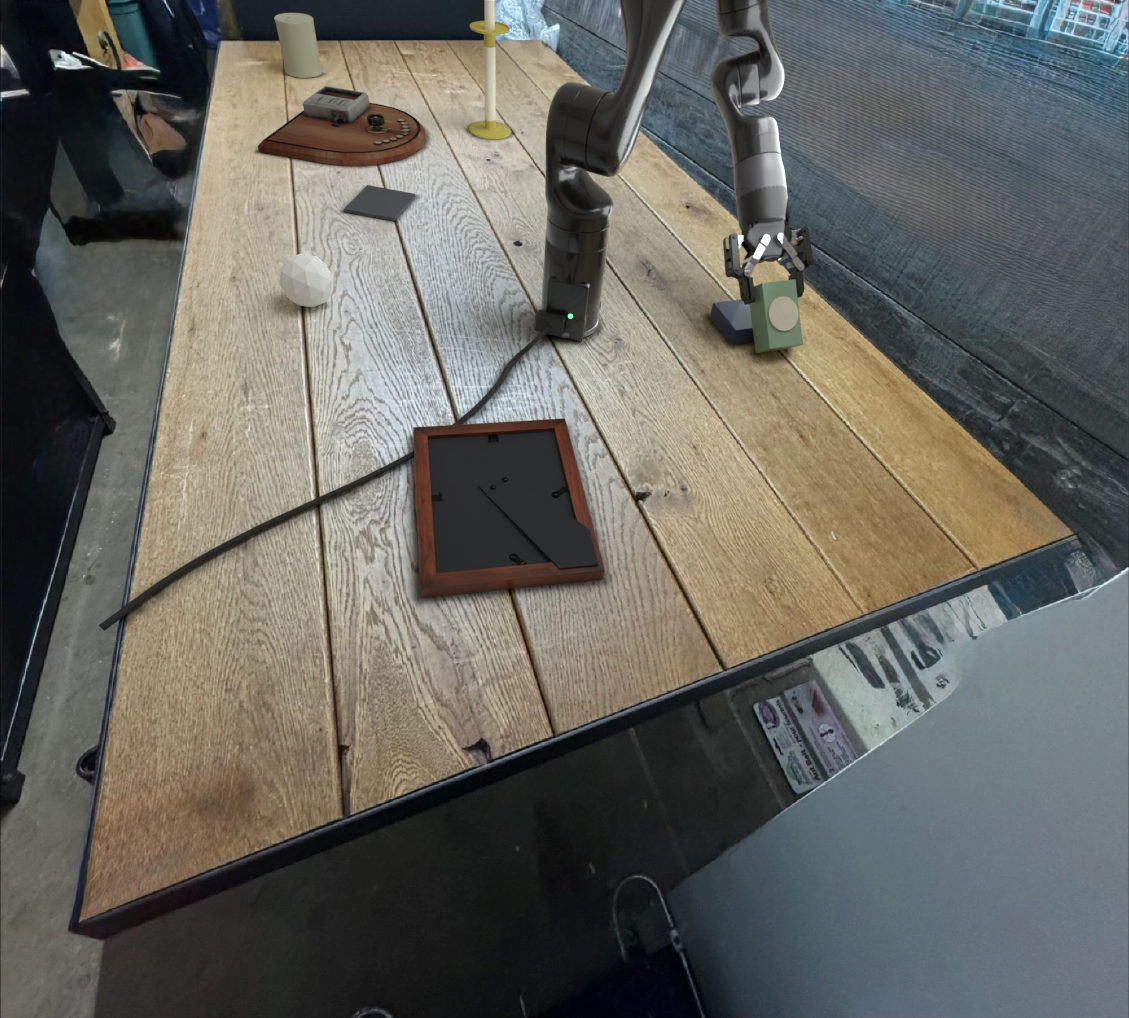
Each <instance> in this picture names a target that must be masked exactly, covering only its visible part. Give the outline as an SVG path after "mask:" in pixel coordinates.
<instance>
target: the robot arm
mask: <svg viewBox="0 0 1129 1018" xmlns="http://www.w3.org/2000/svg"><path fill="white" fill-rule="evenodd" d="M687 1H688V0H618V3H619V8H620V14H621V20H622V26H623V31H624V32H623V33H624V38H625V52H626V53H625V54H626V56H625V65H624V69H623V74H622V77H621V80H620V83H619V85H618V87H617V89H616V90H615V92H613V91H610V90H606V89H602V88H599V87H595V86H592V85H588V84H584V83H581V82H575V81H567V82H565V83H563V84H561V85H560V86H559V87H558V89H556V91H555V93H554V95H553V97H552V100H551V101H550V105H549V109H548V112H547V118H546V128H545V176H544V177H545V179H544V195H545V196H544V197H545V201H546V206H547V207H546V221H545V222H546V223H545V224H546V225H545V239H544V253H543V254H544V255H543V269H542V271H543V272H542V287H541V288H542V289H541V303H540V304H541V305H540V309H538V311H537V313H536V315H535V325H534V332H536V333H538V334H537V335H536V336H534V338H533V339H532V340H530V342H529V343H528V344H527V345H525V346H524V347H523V348H522V349H520V350H519V351H518V352H516V354H514V356H513V357H512V358H511V359H510V360H509V362H508V363H507V364H506V365H505V367H504V369H503V371H502V372H501V373H500V376H499V377H498V379H497V381H495V383H494V384H493V386H492V387H491V388H490V389H489V390H488V392H486V394H485V395H484V396H483V397H482V398H481V399H480V400H479V401H478V402H477V403H476V404H475V405H474V406H473V407H472V408H470V409H469V410H468V411H467V412H466V413H465V414H463V415H462V416H461V417H460V418H459V419H458V420H457V421H455V422H454V423H452V425H460V424H465V422H467V421H468V420H469V419H470V418H471V417H473V416H474V415H475V414H476V413H477V412H478V411H479V410H480V409H481V408H483V406H484V405H485V404H486V403H487V402H488V401H489V400H491V398H492V397H493V395H495V393H496V392H497V391H498V390H499V389H500V387H501V386H502V384H503V383H504V382H505V380H506V378H507V376H508V374H509V373H510V371H511V369H512V368H513V367H514V365H515V364H516V363H517V362H518V361H519V360H520V358H521V357H523V356H524V355H525V354H527V352H529V351H530V350H531V349H532V348H534V347H535V345H537V343H539V341H540V340H541V339H543V337H544V336H545V335H546V336H552V337H556V338H562V339H567V340H571V341H577V342H583V341H584V339H585V338H586V337H590V336H591V335H592V334H594V333H595V332H596V330H597V329H598V327H599V320H600V318H599V314H600V310H601V306H602V301H601V299H602V293H603V286H604V280H605V279H604V278H605V270H606V264H607V257H608V249H609V241H610V235H611V227H612V221H613V215H614V202H613V199H612V197H611V195H610V194H609V193H608V192H607V191H606V189H604V188H602V186H601V185H599V183H597V182H596V181H595V180H594V178H593V177H591V175H590V174H589V173H591V174H594V175H598V176H601V177H606V178H614V177H616V176H618V175H619V174H620V173H621V172H622V171H623V169H624V168H625V167H626V165H627V163H628V162H629V160H630V157H631V155H632V153H633V150H634V148H635V145H636V143H637V139H638V137H639V133H640V131H641V129H642V124H643V121H644V118H645V115H646V111H647V109H648V106H649V102H650V99H651V96H652V93H653V90H654V87H655V83H656V80H657V77H658V75H659V71H660V68H661V66H662V63H663V60H664V57H665V55H666V53H667V50H668V47H669V44H670V43H671V40H672V38H673V34H674V32H675V30H676V27H677V25H678V23H679V20H680V17H681V15H682V13H683V11H684V8H685V6H686V4H687ZM714 1H715V11H716V22H717V29H718V33H719V34H720V35H721V36H722V37H724V38H729V39H733V38H750V39H752V40H753V41H754V42H755V45H756V49H754V50H750V51H747V52H742V53H740V54H737V55H733V56H729V57H726V58H724V59H721V60H720V61H718V62H717V63H716V65H715V66H714V68H713V69H712V73H711V76H710V92H711V95H712V98H713V101H714V103H715V105H716V107H717V110H718V113H719V114H720V117H721V118H722V121H723V122H724V126H725V128H726V132H727V135H728V139H729V144H730V150H731V159H732V167H733V188H734V197H735V204H736V213H737V220H738V229H739V230H740V231H741V232H740V233H741V234H737V232H732V233H730V234H729V235H727V236H726V237H725V238H723V240H722V247H723V249H722V250H723V262H724V272H725V273H724V274H725V277H726V278H733V279H736V280H737V281H738V288H739V289H738V290H739V297H740V300H742V301H744V304H745V305H746V304H751V303H753V302H755V292H754V286H755V284H754V276H751V275H752V274H753V271H754V269H755V268H756V265H757V264H762V263H764V262H767V263H773V262H774V263H775V262H777V263H778V265H779V266H782V267H783V268H784V269H785V270H786V271H787V272H788V274H789V275H787V276H788V277H787V278H788V280H794V279H795V280H796V289H797V297H798V299H799V298H802V297H803V295H804V293H805V291H806V290H805V288H806V287H805V281H804V271H805V269H808V268H809V267H812V266H813V265H814V263H815V261H814V256H813V249H812V242H811V237H810V232H809V228H808V227H807V226H803V227H800V228H798V229H794V230H792V229H791V227H790V226H789V221H790V215H791V214H790V213H791V212H790V205H789V195H788V190H787V189H788V188H787V180H786V179H787V178H786V171H785V167H784V164H783V159H782V154H781V144H780V138H779V137H780V136H779V126H778V123H777V120H776V119H775V118H774V117H773V116H771V115H767V114H748V113H745V112H744V111H742V110H743V109H746V108H750V107H753V106H757V105H761V104H765V103H768V102H771V101H773V100H775V99H777V98H778V96H780V94H781V92H782V90H783V87H784V84H785V79H786V77H785V76H786V74H785V67H784V64H783V60H782V56H781V54H780V51H779V48H778V46H777V42H776V38H775V35H774V32H773V27H772V23H771V17H770V10H769V0H714ZM793 246H794V247H793ZM741 247H742V248H743V249H744V251H745V254H744V256H743V257H742V258H743V259H742V260H741V255H740V249H741ZM785 254H786V255H785ZM412 459H414V450H412V451H410V452H408V453H406V454H405V455H403V456H401V457H399V458H397V459H396V460H394V461H391V462H390V463H388V464H386V465H384V466H382V467H379V468H378V469H376V470H374V471H372V472H369V473H368V474H365V475H364V476H362V477H360V478H358V479H355V480H353V481H352V482H349V483H347V484H345V485H342V486H340V487H338V488H336V489H334V490H332V491H328V492H327V493H324V494H322V495H320V496H317V497H316V498H314V499H312V500H310V501H308V502H305V503H303V504H301V505H299V506H297V507H295V508H292V509H290V510H287V511H286V512H284V513H280V514H278V515H277V516H275V517H272V518H270V519H269V520H266V521H264V522H261V523H259V524H258V525H256V526H253V527H252V528H250V529H247V530H246V531H244V532H242V533H240V534H238V535H235V536H234V537H232V538H230V539H229V540H227V541H225V542H223V543H221V544H219V545H217V546H215V547H214V548H212V549H210V550H208V551H206V552H204V553H202V554H201V555H199V556H197V557H195V558H194V559H192V560H191V561H188V562H187V563H185V564H184V565H182V566H180V567H178V568H177V569H176V570H174V571H172V572H171V573H170V574H167V575H166V576H165V577H163V578H162V579H160V580H159V581H157V582H155V583H154V584H153V585H151V586H149V588H147V589H146V590H144V591H143V592H141V593H140V594H139V595H137V596H136V597H134V599H132V600H130V601H129V602H128V603H126V605H124V606H123V607H121V608H120V609H119V610H117V611H116V612H115V613H113V614H112V615H110V616H108V618H106V619H105V620H104V621H102V622H101V623H100V624H98V627H100V628H101V630H102V631H107V630H108V629H109V628H110V627H112V626H113V625H115V624H116V623H117V622H118V621H120V620H121V619H122V618H124V617H125V616H127V615H128V614H129V613H130V612H132V611H134V609H136V608H137V607H139V606H140V605H141V604H142V603H144V602H145V601H146V600H148V599H149V598H151V597H152V596H153V595H155V594H156V593H157V592H159V591H160V590H161V589H164V588H165V587H167V586H168V585H169V584H171V583H172V582H174V581H175V580H177V579H179V578H180V577H182V576H183V575H184V574H187V573H188V572H190V571H191V570H193V569H195V568H196V567H198V566H200V565H201V564H203V563H204V562H207V561H208V560H210V559H212V558H213V557H216V556H217V555H219V554H221V553H223V552H225V551H227V550H228V549H230V548H233V547H234V546H236V545H238V544H239V543H242V542H243V541H245V540H247V539H249V538H252V537H253V536H255V535H257V534H259V533H261V532H263V531H265V530H267V529H269V528H271V527H274V526H276V525H277V524H280V523H282V522H284V521H286V520H288V519H291V518H292V517H295V516H297V515H299V514H301V513H304V512H305V511H309V510H310V509H312V508H315V507H316V506H318V505H321V504H323V503H325V502H327V501H329V500H331V499H333V498H336V497H338V496H341V495H343V494H345V493H347V492H350V491H351V490H354V489H356V488H357V487H360V486H361V485H364V484H366V483H368V482H370V481H372V480H374V479H376V478H378V477H380V476H382V475H384V474H386V473H388V472H390V471H391V470H393V469H396V468H398V467H400V466H401V465H403V464H405V463H406V462H408V461H410V460H412Z"/></svg>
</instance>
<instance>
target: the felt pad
mask: <svg viewBox="0 0 1129 1018" xmlns="http://www.w3.org/2000/svg"><path fill="white" fill-rule="evenodd" d="M415 198H416V193H413V192H408V191H403V190H396V189H391V188H384V187H382V186H381V187H380V186H374V185H368V184H367V185H366V186H365V187H364V188H363V189H362V190H361V191H359V193H358V194H357V195H356V196H355V197H354V198H353V199H352V200H351V201H350V202H349V203H348V204H347V205H346V206H345V207H344V208H343V212H344V213H349V214H354V215H358V216H363V217H368V218H373V219H380V220H385V221H391V222H396V221H397V219H398V218H399V217H400V216H401V215H402V213H404V211H405V210H406V209H407V208H408V206H409V205H410V204H411V203H412V202H413V201H414V199H415Z"/></svg>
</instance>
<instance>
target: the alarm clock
mask: <svg viewBox="0 0 1129 1018" xmlns="http://www.w3.org/2000/svg"><path fill="white" fill-rule="evenodd" d="M754 292H755V302H753V303H751V304H750V311H751V319H752V327H753V335H754V342H753V343H754V350H755V354H761V353H769V352H775V351H776V352H777V351H782V350H789V349H792V348H796V347H799V346H802V345H804V340H803V333H802V324H801V323H802V322H801V315H800V307H799V300H798V299H799V298H798V297H797V289H796V280H795V279H794V280H789V279H787V280H786V279H785V280H776V281H766V282H761V283H759V284H756V285H754Z"/></svg>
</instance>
